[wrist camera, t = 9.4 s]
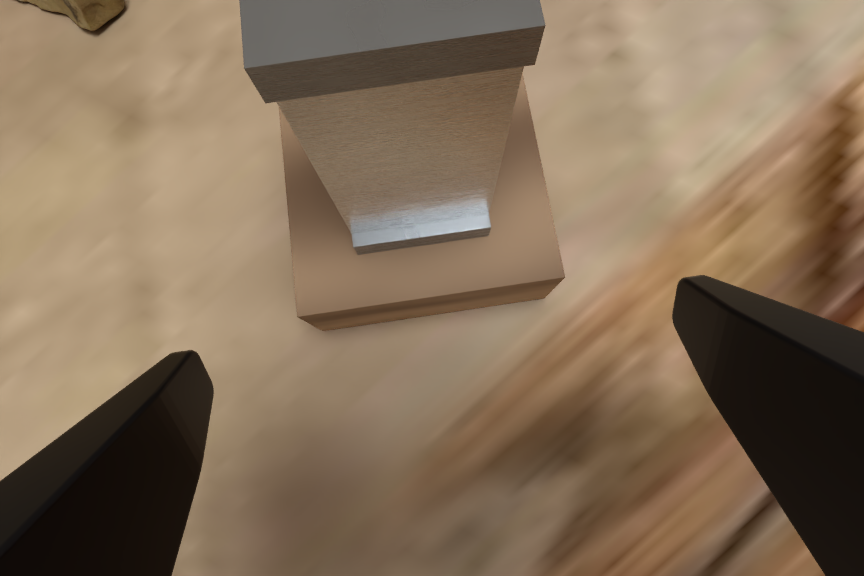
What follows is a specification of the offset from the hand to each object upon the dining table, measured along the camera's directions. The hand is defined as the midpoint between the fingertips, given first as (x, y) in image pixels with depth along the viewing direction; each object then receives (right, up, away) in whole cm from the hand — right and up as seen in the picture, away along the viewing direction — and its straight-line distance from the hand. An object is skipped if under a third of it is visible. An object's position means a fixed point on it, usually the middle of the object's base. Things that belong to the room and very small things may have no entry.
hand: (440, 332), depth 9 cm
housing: (-1, +5, +10) cm, 12 cm away
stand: (-1, +4, +14) cm, 15 cm away
